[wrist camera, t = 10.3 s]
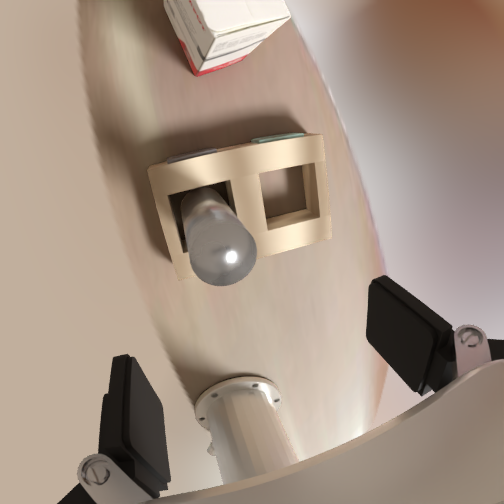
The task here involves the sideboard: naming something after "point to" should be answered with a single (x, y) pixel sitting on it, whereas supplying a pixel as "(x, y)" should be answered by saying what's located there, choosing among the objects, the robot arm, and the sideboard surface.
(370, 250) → the sideboard surface
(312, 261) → the sideboard surface
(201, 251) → the peg
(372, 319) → the robot arm
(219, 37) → the ink box
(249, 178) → the socket block
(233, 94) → the sideboard surface
